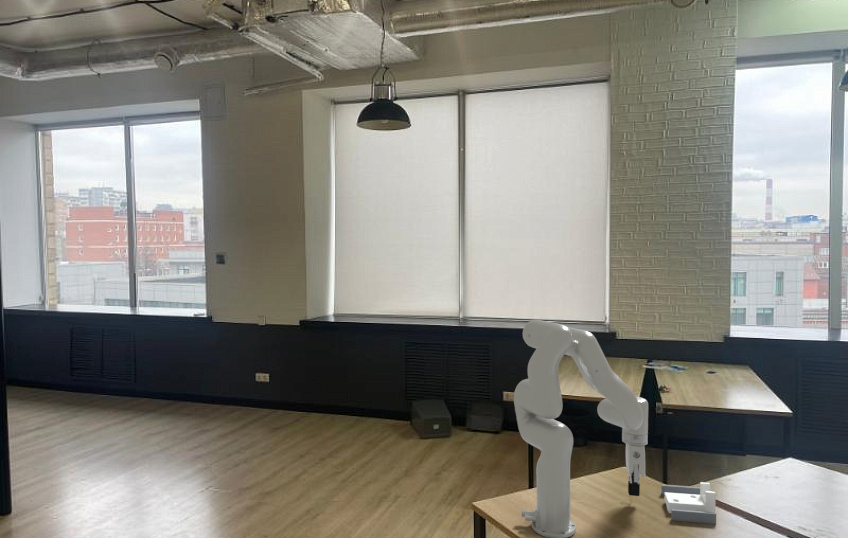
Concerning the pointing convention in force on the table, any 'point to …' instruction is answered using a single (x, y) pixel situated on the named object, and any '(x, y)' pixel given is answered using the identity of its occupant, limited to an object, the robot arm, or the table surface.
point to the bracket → (692, 500)
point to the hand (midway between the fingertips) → (633, 494)
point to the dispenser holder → (688, 514)
